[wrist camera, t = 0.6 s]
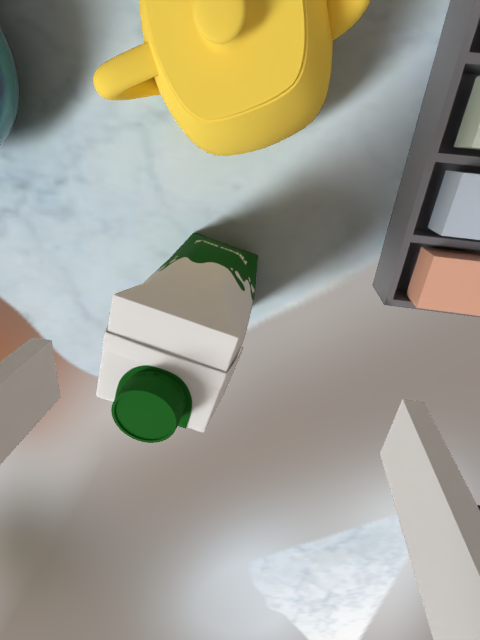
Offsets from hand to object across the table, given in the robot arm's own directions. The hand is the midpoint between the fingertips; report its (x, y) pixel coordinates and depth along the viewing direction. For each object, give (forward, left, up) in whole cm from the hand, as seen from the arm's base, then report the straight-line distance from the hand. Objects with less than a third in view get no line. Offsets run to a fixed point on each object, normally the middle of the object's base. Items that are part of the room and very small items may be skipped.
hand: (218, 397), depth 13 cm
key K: (-6, +17, -21) cm, 27 cm away
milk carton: (+4, -4, -25) cm, 26 cm away
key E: (0, +16, -21) cm, 27 cm away
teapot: (-15, -2, -25) cm, 29 cm away
